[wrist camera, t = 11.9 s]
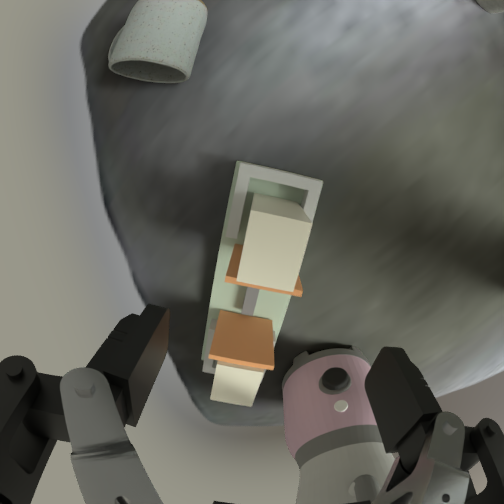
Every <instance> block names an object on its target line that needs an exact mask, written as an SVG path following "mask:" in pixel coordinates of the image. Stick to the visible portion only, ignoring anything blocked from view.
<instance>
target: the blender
mask: <svg viewBox="0 0 504 504" xmlns="http://www.w3.org/2000/svg"><path fill="white" fill-rule="evenodd" d="M370 369H371V365H370V363H369V361H368V360H367V358H366V357H365V356H364V354H363V353H362V351H361V350H359V349H358V348H356V347H354V346H351V347H350V349H343V348H335V349H327V350H322V351H319V352H316V353H313V354H311V355H309V354H308V352H307V351H304V352H302V353H301V354H299V355H298V356H297V357H295V358H294V360H293V366H292V367H291V368H290V369H289V370H288V371H287V373H286V374H285V376H284V378H283V381H282V396H283V405H284V426H285V439H286V443H287V446H288V449H289V451H290V453H291V455H292V456H293V457H294V459H295V460H296V461H297V464H298V466H299V469H300V481H299V487H298V493H297V499H296V504H346V503H354V502H361V501H367V500H370V501H371V503H372V502H373V501H374V500H375V498H376V497H377V496H378V494H379V492H380V490H381V488H382V486H383V484H384V482H385V480H386V478H387V476H388V474H389V472H390V469H391V467H392V465H393V463H394V461H395V459H394V457H393V455H392V454H391V453H388V454H386V452H385V449H384V445H383V442H382V439H381V436H380V433H379V430H378V426H377V423H376V420H375V417H374V414H373V411H372V409H371V406H370V403H369V400H368V397H367V394H366V391H365V386H364V384H365V378H366V376H367V374H368V372H369V370H370Z"/></svg>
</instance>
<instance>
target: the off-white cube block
mask: <svg viewBox="0 0 504 504" xmlns="http://www.w3.org/2000/svg"><path fill="white" fill-rule="evenodd" d="M312 224H313V223H312V222H311V220H310V219H309V218H308V216H307V215H306V213H305V212H304V211H303V209H302V208H301V206H300V205H299V204H298V202H295V201H291V200H286V199H282V198H277V197H273V196H268V195H263V194H259V193H254V196H253V201H252V206H251V211H250V215H249V220H248V225H247V230H246V235H245V239H244V244H243V245H240V244H235V245H234V248H233V252H232V255H231V259H230V262H229V266H228V269H227V273H226V276H225V282H227V283H232V284H237V285H242V286H247V287H252V288H257V289H262V290H267V291H272V292H278V293H283V294H288V295H294V296H299V297H301V296H302V293H303V289H302V285H301V282H300V278H299V271H300V267H301V264H302V260H303V257H304V253H305V250H306V246H307V242H308V239H309V235H310V231H311V228H312Z"/></svg>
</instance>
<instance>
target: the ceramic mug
mask: <svg viewBox="0 0 504 504" xmlns="http://www.w3.org/2000/svg"><path fill="white" fill-rule="evenodd" d="M206 21H207V8H206V6H205V4H204V3H203V2H202V1H201V0H139V1H138V2H137V3H136V5H135V6H134V7H133V9H132V11H131V13H130V15H129V17H128V19H127V21H126V24H125V25H124V27H123V28H122V29H121V30H120V31H119V32H118V34H117V35H116V37H115V38H114V40H113V42H112V44H111V46H110V49H109V54H108V60H109V64H108V66H109V69H110V70H111V71H113V72H114V73H116V74H119V75H122V76H125V77H129V78H133V79H138V80H142V81H151V82H157V83H180V82H184V81H187V80H188V79H189V77H190V75H191V71H192V68H193V64H194V60H195V57H196V54H197V50H198V47H199V43H200V39H201V36H202V34H203V31H204V28H205V25H206Z"/></svg>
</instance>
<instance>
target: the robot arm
mask: <svg viewBox="0 0 504 504" xmlns="http://www.w3.org/2000/svg"><path fill="white" fill-rule="evenodd" d="M169 321H170V310H169V309H168V308H164V307H160V306H156V305H153V304H148V305H147V306H146V308H145V309H144V310H143V312H142V313H141V315H140V316H139V315H136V314H131V315H128V316H127V317H125V318H123V319H121V320H120V321H119V323H118V324H117V325H116V327H115V328H114V330H113V331H112V332H111V333H110V335H109V336H108V339H106V340H105V341H104V343H103V344H102V345H101V347H100V348H99V350H98V351H97V352H96V354H95V355H94V356H93V358H92V359H91V361H90V362H89V363H88V365H87V366H86V367H84V368H76V369H73V370H71V371H69V372H67V373H66V374H65V375H64V376H63V377H62V376H61V377H60V376H54V375H49V374H43V373H38V372H37V371H36V368H35V366H34V364H33V362H32V361H31V360H29V359H28V358H26V357H24V356H10V357H7V358H5V359H4V360H3V361H1V362H0V504H30V503H31V501H32V498H33V496H34V493H35V490H36V488H37V485H38V483H39V480H40V478H41V475H42V473H43V471H44V468H45V466H46V463H47V461H48V459H49V457H50V455H51V452H52V450H53V448H54V446H55V444H56V442H57V440H60V441H66V442H71V445H72V451H73V452H72V453H71V461H72V465H73V469H74V472H75V475H76V478H77V481H78V484H79V487H80V490H81V493H82V495H83V498H84V501H85V503H86V504H163V502H162V501H161V499H160V497H159V495H158V493H157V492H156V490H155V488H154V486H153V484H152V483H151V481H150V479H149V477H148V475H147V473H146V471H145V469H144V467H143V465H142V463H141V461H140V459H139V456H138V454H137V453H136V451H135V448H134V447H133V445H132V444H131V443H130V441H129V438H128V436H127V434H126V431H125V429H124V427H125V425H126V424H128V425H131V426H134V427H136V425H137V423H138V420H139V418H140V416H141V413H142V410H143V408H144V406H145V403H146V401H147V399H148V396H149V394H150V392H151V389H152V387H153V384H154V382H155V380H156V377H157V375H158V373H159V371H160V368H161V366H162V364H163V361H164V359H165V356H166V353H167V348H168V339H169ZM364 386H365V391H366V394H367V397H368V400H369V403H370V406H371V409H372V411H373V414H374V417H375V420H376V423H377V426H378V430H379V433H380V436H381V439H382V442H383V445H384V449H385V452H386V454H388V453H395V452H398V453H399V456H398V457H397V458H396V459H395V461H394V463H393V465H392V467H391V469H390V472H389V474H388V476H387V478H386V480H385V482H384V484H383V486H382V488H381V490H380V492H379V494H378V496H377V497H376V498H375V500H374V501H373V502H372V503H371V501H370V500H367V501H361V502H354V503H346V504H504V434H503V432H502V431H501V429H500V427H499V425H498V424H497V423H496V422H495V421H494V420H492V419H489V418H484V419H482V420H481V421H480V422H479V423H478V424H477V425H476V427H467V426H464V424H463V422H462V420H461V419H460V418H459V417H458V416H456V415H455V414H453V413H451V412H442V410H441V408H440V406H439V404H438V402H437V401H436V399H435V397H434V395H433V393H432V391H431V389H430V388H429V387H428V384H427V382H426V381H425V380H424V377H423V375H422V374H421V372H420V370H419V369H418V368H417V367H416V366H415V365H414V364H413V363H412V362H411V361H410V359H409V358H408V356H407V354H406V353H405V351H404V349H403V348H398V347H383V348H382V349H381V351H380V353H379V354H378V356H377V358H376V360H375V362H374V363H373V365H372V367H371V369H370V370H369V372H368V374H367V376H366V378H365V384H364ZM479 461H480V462H481V464H482V467H483V470H484V472H485V475H486V477H487V486H486V488H485V489H484V490H483V491H482V492H481V493H479V494H478V495H477V494H476V491H475V489H474V486H473V482H472V480H471V477H470V474H469V471H468V470H469V469H471V468H472V467H473V466H474V465H475V464H476V463H478V462H479ZM213 504H232V503H225V502H218V501H214V502H213Z"/></svg>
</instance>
